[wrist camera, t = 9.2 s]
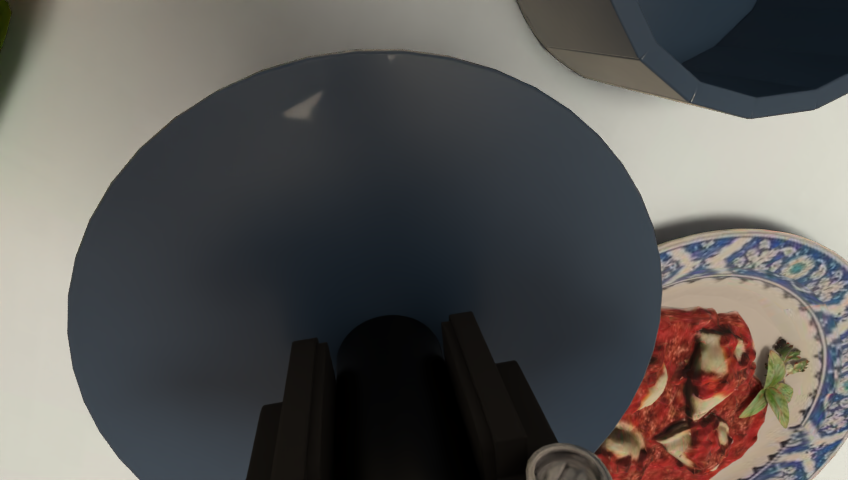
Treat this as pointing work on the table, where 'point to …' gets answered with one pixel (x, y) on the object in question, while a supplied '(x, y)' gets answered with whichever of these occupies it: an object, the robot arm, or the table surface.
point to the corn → (4, 20)
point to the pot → (704, 49)
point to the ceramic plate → (741, 363)
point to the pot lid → (360, 266)
